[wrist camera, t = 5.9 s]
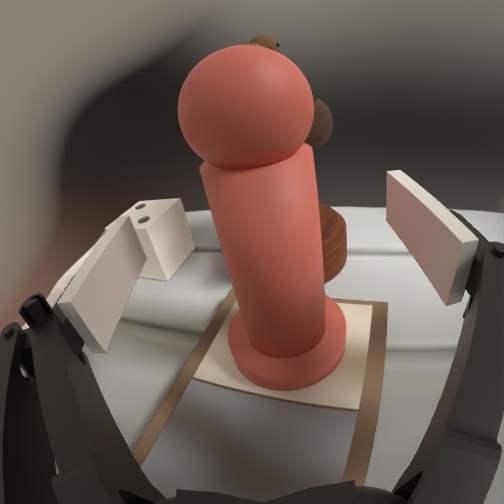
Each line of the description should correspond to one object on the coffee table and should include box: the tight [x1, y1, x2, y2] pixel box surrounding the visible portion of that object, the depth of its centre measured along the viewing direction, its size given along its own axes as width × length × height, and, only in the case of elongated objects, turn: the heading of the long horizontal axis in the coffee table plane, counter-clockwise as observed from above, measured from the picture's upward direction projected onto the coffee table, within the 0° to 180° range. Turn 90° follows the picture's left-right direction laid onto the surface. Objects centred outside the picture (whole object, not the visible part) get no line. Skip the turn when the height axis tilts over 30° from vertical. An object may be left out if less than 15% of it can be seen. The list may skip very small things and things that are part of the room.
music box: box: [243, 35, 347, 284], centre depth 24 cm, size 15×11×20 cm
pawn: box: [178, 45, 346, 391], centre depth 14 cm, size 7×7×16 cm
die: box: [105, 198, 196, 281], centre depth 30 cm, size 6×6×6 cm
